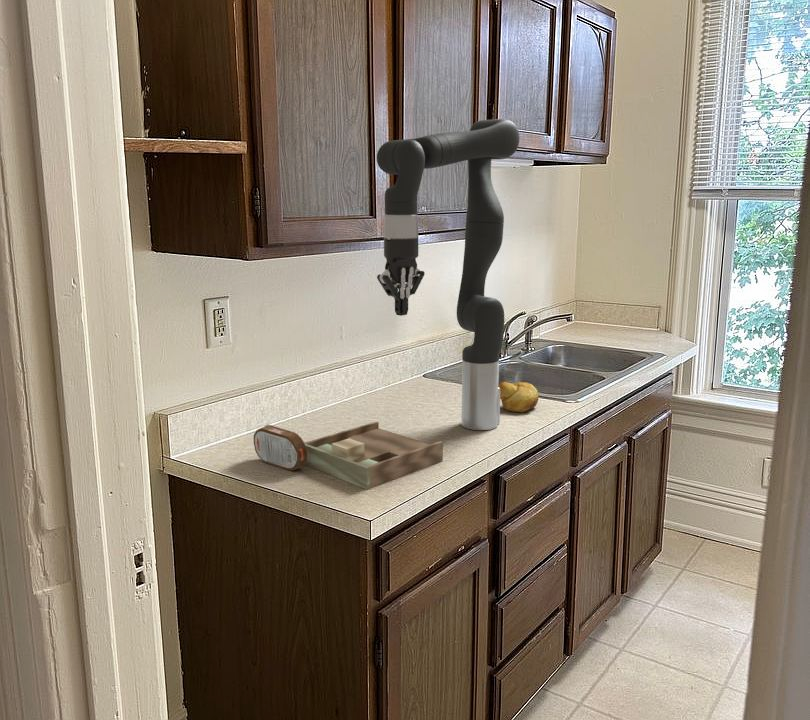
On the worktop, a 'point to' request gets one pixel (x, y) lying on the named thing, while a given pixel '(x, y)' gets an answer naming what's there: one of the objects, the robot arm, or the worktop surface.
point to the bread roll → (518, 396)
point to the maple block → (349, 449)
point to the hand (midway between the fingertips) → (401, 314)
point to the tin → (280, 447)
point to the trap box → (373, 456)
